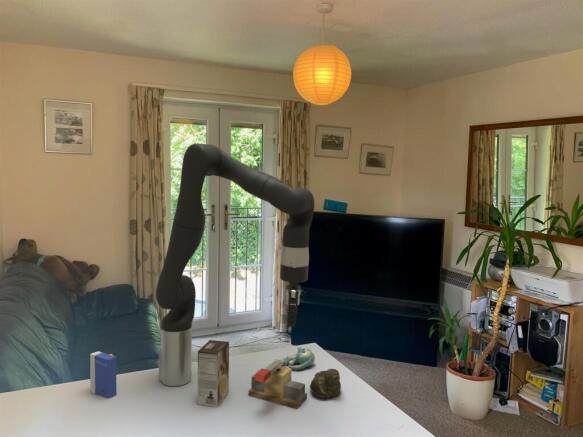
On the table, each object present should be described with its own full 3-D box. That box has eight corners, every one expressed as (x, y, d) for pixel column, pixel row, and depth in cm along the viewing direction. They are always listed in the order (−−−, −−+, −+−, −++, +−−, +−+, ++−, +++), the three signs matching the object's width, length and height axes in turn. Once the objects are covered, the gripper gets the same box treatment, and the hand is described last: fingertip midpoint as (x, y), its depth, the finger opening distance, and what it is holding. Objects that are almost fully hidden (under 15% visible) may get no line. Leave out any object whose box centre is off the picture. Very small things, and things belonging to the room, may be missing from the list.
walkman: (116, 394, 131) (116, 355, 130) (108, 398, 129) (108, 358, 127) (98, 388, 135) (97, 349, 133) (90, 391, 132) (89, 352, 131)
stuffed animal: (278, 344, 160) (311, 338, 160) (282, 363, 160) (314, 357, 160) (278, 356, 149) (313, 350, 149) (281, 376, 150) (316, 371, 150)
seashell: (315, 387, 127) (349, 384, 129) (308, 351, 136) (339, 349, 138) (310, 407, 134) (342, 404, 136) (303, 372, 143) (333, 370, 145)
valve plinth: (248, 395, 133) (248, 368, 132) (259, 385, 139) (260, 360, 138) (297, 408, 126) (298, 380, 125) (306, 398, 132) (307, 371, 132)
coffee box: (209, 389, 136) (209, 338, 134) (229, 392, 134) (230, 341, 133) (196, 405, 127) (197, 350, 125) (218, 408, 125) (218, 353, 124)
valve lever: (275, 367, 133) (275, 357, 133) (283, 369, 132) (283, 359, 131) (254, 384, 122) (254, 373, 122) (263, 387, 121) (263, 376, 121)
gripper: (281, 256, 127) (278, 311, 128) (279, 267, 112) (277, 329, 114) (307, 257, 127) (304, 313, 129) (309, 269, 113) (306, 331, 114)
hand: (291, 320), depth 121 cm, fingers open, 8 cm apart
